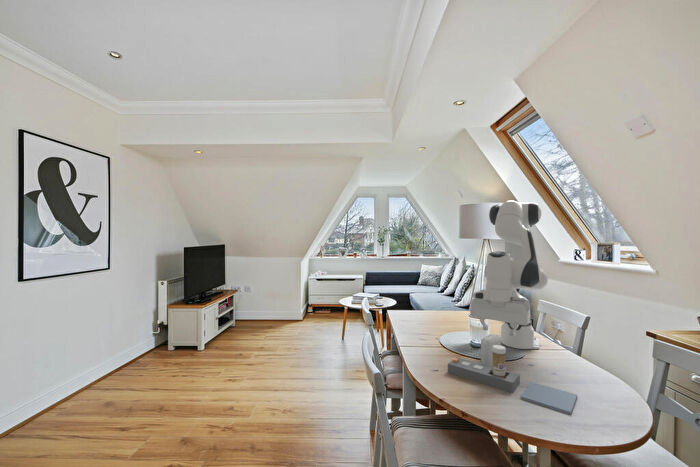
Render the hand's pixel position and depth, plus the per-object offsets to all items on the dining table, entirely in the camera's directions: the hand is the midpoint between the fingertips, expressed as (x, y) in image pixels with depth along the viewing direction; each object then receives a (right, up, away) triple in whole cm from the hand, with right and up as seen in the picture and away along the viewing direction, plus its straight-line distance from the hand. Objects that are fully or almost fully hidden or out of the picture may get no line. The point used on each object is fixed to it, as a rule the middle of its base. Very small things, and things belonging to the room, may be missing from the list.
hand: (498, 332), depth 116 cm
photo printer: (+5, -19, +17) cm, 26 cm away
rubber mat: (+12, -19, -11) cm, 25 cm away
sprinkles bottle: (0, -19, 0) cm, 19 cm away
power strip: (-4, -19, +4) cm, 20 cm away
